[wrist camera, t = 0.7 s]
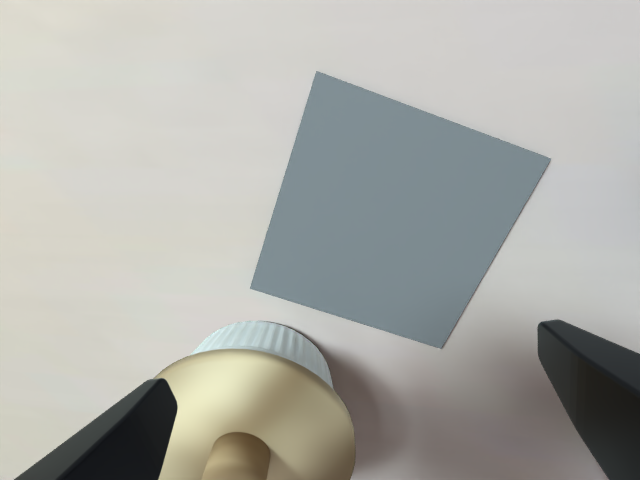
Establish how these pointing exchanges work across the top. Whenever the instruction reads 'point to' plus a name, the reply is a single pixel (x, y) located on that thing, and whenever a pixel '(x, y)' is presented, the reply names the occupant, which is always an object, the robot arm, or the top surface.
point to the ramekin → (269, 344)
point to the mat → (390, 212)
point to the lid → (255, 420)
